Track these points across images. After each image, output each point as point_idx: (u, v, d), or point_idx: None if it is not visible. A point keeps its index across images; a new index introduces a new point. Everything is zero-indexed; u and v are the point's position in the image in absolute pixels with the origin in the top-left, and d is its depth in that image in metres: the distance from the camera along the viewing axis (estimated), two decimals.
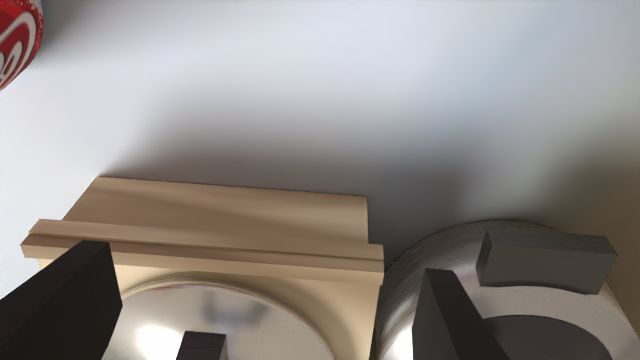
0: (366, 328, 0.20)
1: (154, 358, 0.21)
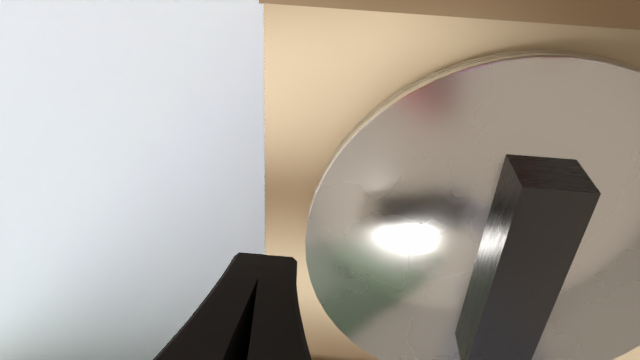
0: None
1: (429, 213, 0.13)
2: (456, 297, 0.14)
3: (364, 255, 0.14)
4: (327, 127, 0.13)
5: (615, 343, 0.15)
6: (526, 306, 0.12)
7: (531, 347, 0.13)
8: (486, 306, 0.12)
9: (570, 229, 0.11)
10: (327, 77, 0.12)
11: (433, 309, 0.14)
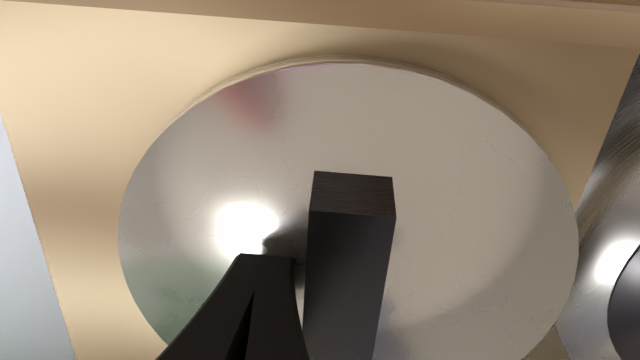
0: (577, 174, 0.11)
1: (246, 234, 0.12)
2: None
3: (187, 278, 0.12)
4: (74, 134, 0.11)
5: None
6: (346, 338, 0.11)
7: None
8: None
9: (372, 256, 0.10)
10: (58, 78, 0.11)
11: None
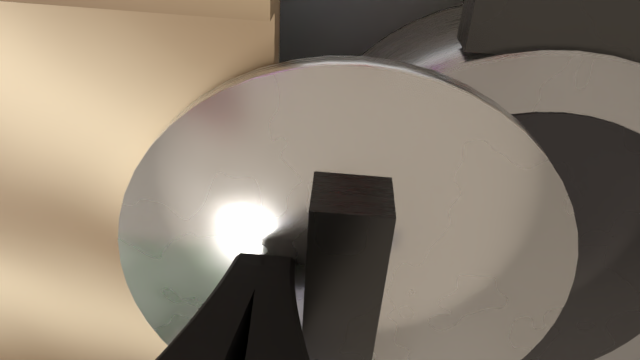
0: None
1: (246, 235, 0.12)
2: None
3: (187, 279, 0.12)
4: None
5: None
6: (346, 338, 0.11)
7: None
8: None
9: (372, 257, 0.10)
10: None
11: None
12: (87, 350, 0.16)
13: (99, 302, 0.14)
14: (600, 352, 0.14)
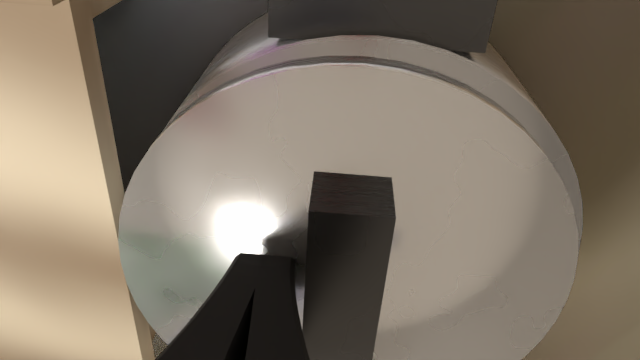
0: (85, 135, 0.11)
1: (246, 235, 0.12)
2: None
3: (188, 279, 0.12)
4: None
5: None
6: (346, 338, 0.11)
7: None
8: None
9: (372, 256, 0.10)
10: None
11: None
12: None
13: None
14: None
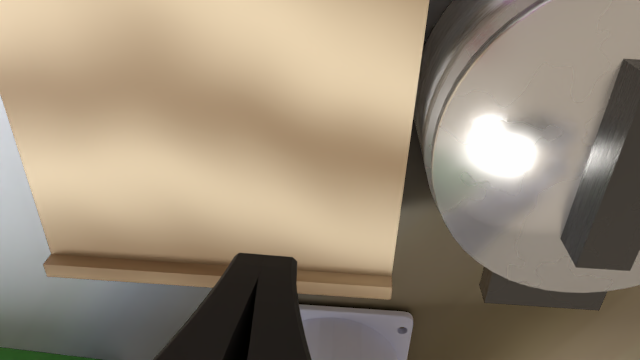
0: (414, 42, 0.14)
1: (549, 119, 0.14)
2: (565, 202, 0.16)
3: (486, 163, 0.15)
4: (29, 24, 0.15)
5: None
6: None
7: None
8: (604, 197, 0.14)
9: None
10: None
11: (542, 215, 0.16)
12: (240, 239, 0.19)
13: (259, 191, 0.17)
14: None
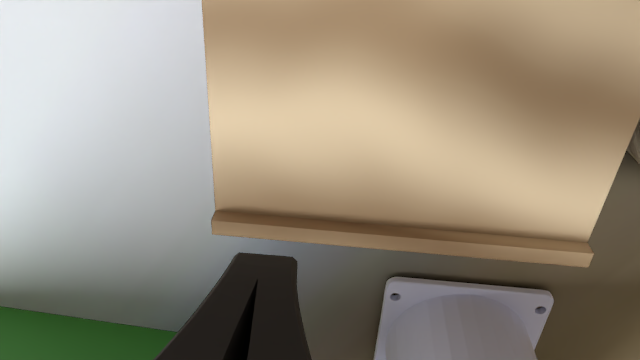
0: None
1: None
2: None
3: None
4: None
5: None
6: None
7: None
8: None
9: None
10: None
11: None
12: (431, 197, 0.17)
13: (466, 142, 0.16)
14: None
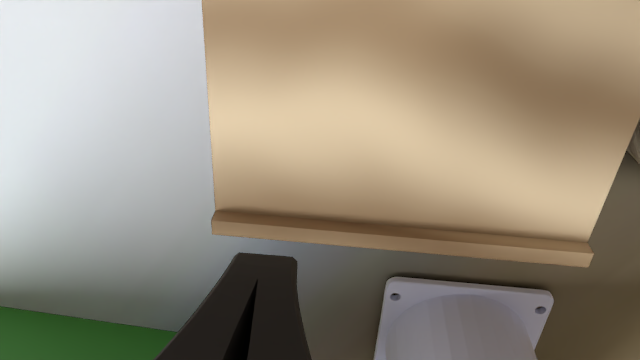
0: None
1: None
2: None
3: None
4: None
5: None
6: None
7: None
8: None
9: None
10: None
11: None
12: (431, 197, 0.17)
13: (466, 142, 0.16)
14: None
